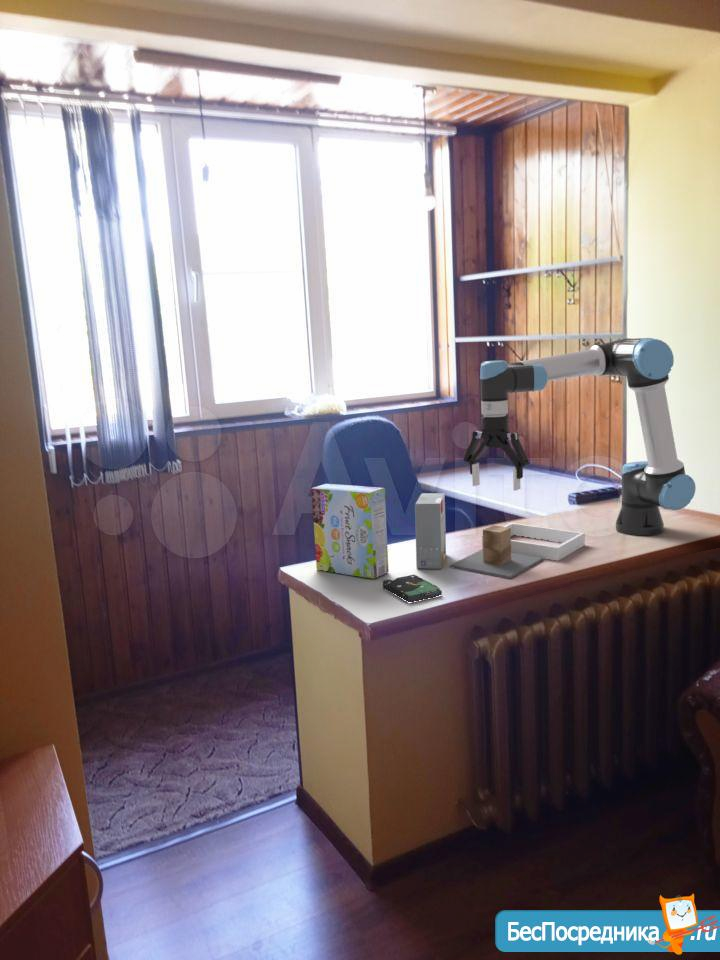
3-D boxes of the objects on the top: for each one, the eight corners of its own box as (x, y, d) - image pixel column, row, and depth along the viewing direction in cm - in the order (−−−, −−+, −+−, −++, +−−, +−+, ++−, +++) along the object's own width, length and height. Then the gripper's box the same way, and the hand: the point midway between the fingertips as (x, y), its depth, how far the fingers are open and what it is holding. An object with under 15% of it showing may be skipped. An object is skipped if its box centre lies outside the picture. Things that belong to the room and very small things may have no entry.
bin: (584, 545, 241) (584, 532, 240) (557, 560, 227) (557, 548, 226) (511, 534, 257) (511, 522, 257) (482, 548, 243) (481, 536, 242)
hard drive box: (442, 569, 224) (439, 504, 220) (416, 569, 226) (413, 504, 222) (446, 554, 239) (444, 492, 235) (422, 553, 241) (420, 492, 237)
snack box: (390, 572, 225) (387, 487, 220) (374, 581, 218) (370, 493, 212) (331, 562, 237) (326, 481, 232) (314, 570, 230) (309, 487, 225)
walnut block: (511, 560, 227) (510, 527, 225) (501, 565, 223) (500, 532, 221) (493, 557, 231) (493, 525, 229) (483, 562, 226) (482, 529, 224)
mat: (543, 560, 228) (543, 557, 228) (510, 578, 213) (510, 576, 213) (485, 550, 241) (485, 547, 241) (450, 567, 226) (450, 564, 226)
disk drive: (382, 590, 211) (409, 605, 198) (381, 580, 211) (409, 595, 198) (414, 583, 216) (442, 597, 203) (413, 573, 215) (442, 587, 202)
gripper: (450, 415, 223) (453, 486, 228) (527, 418, 207) (528, 494, 212) (464, 412, 229) (466, 481, 233) (540, 414, 213) (541, 488, 217)
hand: (496, 487), depth 222 cm, fingers open, 13 cm apart
